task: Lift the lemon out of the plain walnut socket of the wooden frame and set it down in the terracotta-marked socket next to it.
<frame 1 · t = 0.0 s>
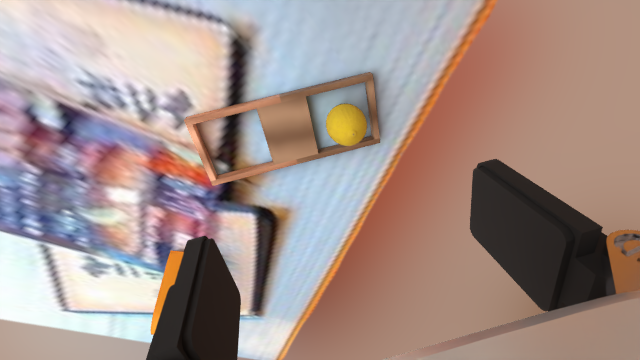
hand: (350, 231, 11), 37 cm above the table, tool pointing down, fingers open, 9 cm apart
lemon: (339, 115, 48), resting in wooden frame
wooden frame: (288, 128, 47), on the table
bracket: (192, 271, 58), on the table
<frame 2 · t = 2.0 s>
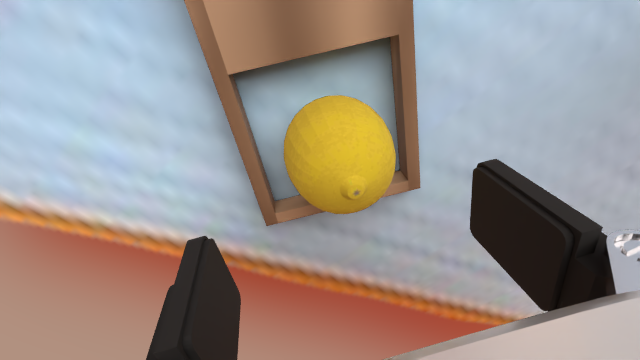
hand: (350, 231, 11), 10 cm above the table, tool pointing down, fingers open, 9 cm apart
lemon: (325, 124, 20), resting in wooden frame
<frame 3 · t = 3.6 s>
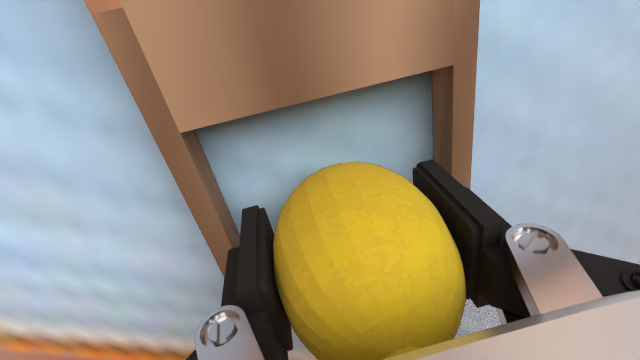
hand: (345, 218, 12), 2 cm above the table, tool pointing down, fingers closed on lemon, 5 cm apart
lemon: (333, 188, 14), resting in wooden frame, touching gripper
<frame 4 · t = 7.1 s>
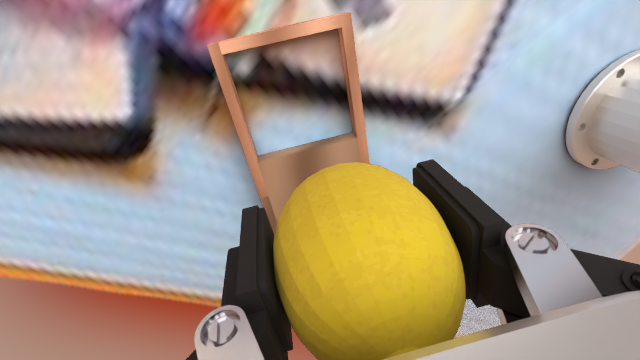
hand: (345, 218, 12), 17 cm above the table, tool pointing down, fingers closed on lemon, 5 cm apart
lemon: (333, 188, 14), point 15 cm above the table, touching gripper
wooden frame: (313, 176, 31), on the table
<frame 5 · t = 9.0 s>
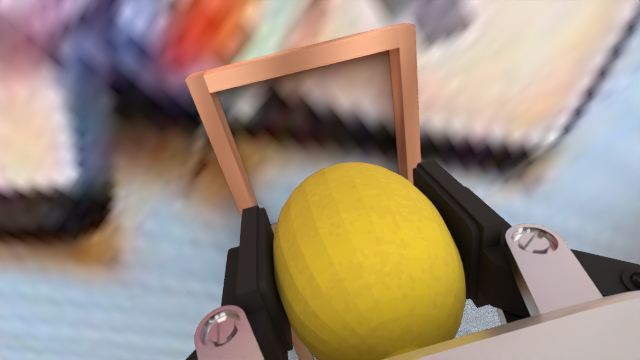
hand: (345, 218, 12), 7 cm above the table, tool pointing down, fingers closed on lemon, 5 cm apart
lemon: (333, 188, 14), point 5 cm above the table, touching gripper
wooden frame: (342, 248, 22), on the table
when the fingers open (3 cm above the table, at t = 10.7 s): lemon stays where it is, resting in wooden frame.
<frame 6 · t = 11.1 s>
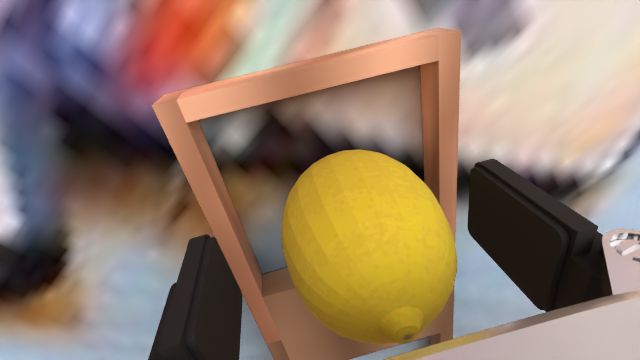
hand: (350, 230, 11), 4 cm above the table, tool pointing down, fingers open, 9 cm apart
lemon: (336, 177, 15), resting in wooden frame
wooden frame: (354, 295, 18), on the table
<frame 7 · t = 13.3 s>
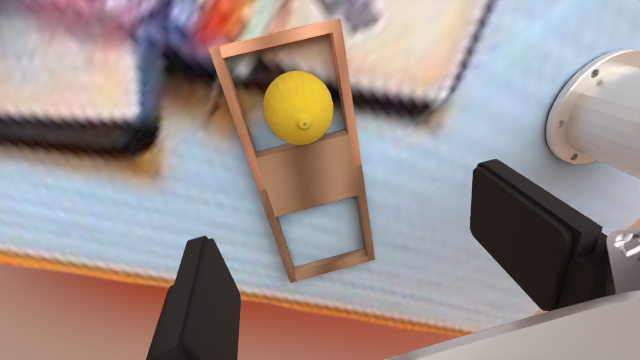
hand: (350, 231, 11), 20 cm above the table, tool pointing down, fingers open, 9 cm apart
lemon: (293, 94, 29), resting in wooden frame
wooden frame: (308, 171, 33), on the table
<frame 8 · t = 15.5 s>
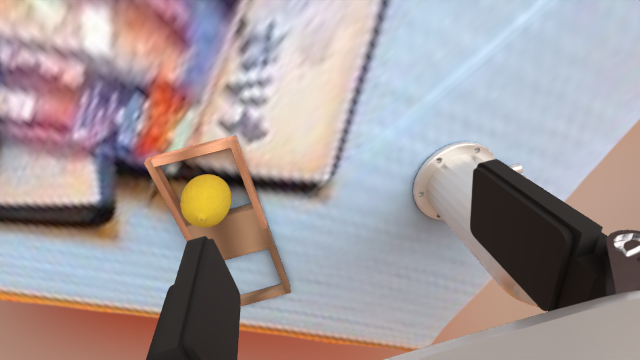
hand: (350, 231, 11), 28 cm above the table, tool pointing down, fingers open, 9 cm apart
lemon: (211, 182, 40), resting in wooden frame
wooden frame: (230, 231, 44), on the table
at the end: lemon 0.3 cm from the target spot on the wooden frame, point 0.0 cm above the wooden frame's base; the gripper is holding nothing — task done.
